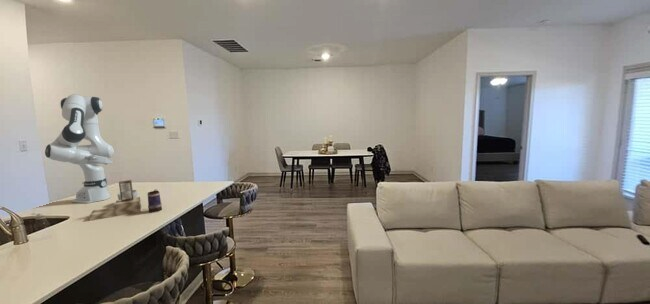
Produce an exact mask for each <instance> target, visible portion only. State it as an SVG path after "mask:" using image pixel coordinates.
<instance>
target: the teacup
mask: <svg viewBox="0 0 650 304" xmlns="http://www.w3.org/2000/svg"><path fill="white" fill-rule="evenodd" d="M116 195H117V199H118V200H121V195H120V192H119V193H117V194H116ZM133 196H134V198H136V197H138V192H137V190H136V189H133Z"/></svg>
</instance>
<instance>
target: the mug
mask: <svg viewBox="0 0 650 304" xmlns="http://www.w3.org/2000/svg"><path fill="white" fill-rule="evenodd" d="M147 204H148V205H147V207H148V212H149V213H158V212H160V211H162V209H163V207H162V201H161V194H160V191H159V190H158V189H154V190H151V191H149V192H147Z"/></svg>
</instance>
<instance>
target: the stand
mask: <svg viewBox="0 0 650 304" xmlns="http://www.w3.org/2000/svg"><path fill="white" fill-rule="evenodd" d="M141 200H142V199H141V196H137V197H136V198H134V200H132V201H125V202H121V200H119V199H118V200H116V201H115V203H114V206H113V207H107V208H101V209H93V210H92V211H91V212H90V214H89V221H96V220H102V219H108V218H113V217H114V218H115V217H118V216H125V215H130V214H138V213H141V210H142V203H141V202H142V201H141Z"/></svg>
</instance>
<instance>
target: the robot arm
mask: <svg viewBox="0 0 650 304" xmlns="http://www.w3.org/2000/svg"><path fill="white" fill-rule="evenodd" d="M60 108H61V116H62V118H63V119H65V120H66V121H68V123H67V124H66V125H65V126H64V127H63V129H62V131H61V132H60V133H59V135H58V136H57V137H56V139H55V140H54V141H52V142H51V143H49V144H47V145H46V146H45V150H44V155H45V157H46V158H47V159H50V160H53V161H57V162H61V163H69V164H70V163H71V164H73V165H78V166H79V167H80V168H81V169H82V171H83V175H84V181H82V183H81V184H82V185H83V187H81V188H80V189H79V190H78V191H76V194H75V197H76V198H75V199H72V201H71V203H80V204H90V203H95V202H101V201H105V200H108V199H111V198H112V196H111V194H110V192H109V188H108V185H107V183H108V182H107V178H106V175H105V168H104V167H103V166H102V165H108V164H110V165H113V164H114V161H113V160H110V159H111V158H112V157H113V156H114V154H115V150H114V147H113V146H112V145H111V144H109V143H107V142H106V141H105V140H104V139H103V138H102V136H101V132H100V123H99V118H98V115H99V113H101V112H102V111H103V108H104V104H103V102H102V100H101V98H100V97H98V96H97V97H96V96H81V95H79V94H70V95H68V96H67V97H64V98H62V99H61V100H60ZM83 139H84V140H86V141H88V142H90V144H81V145H79V144H80V142H81V141H82V140H83Z"/></svg>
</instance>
